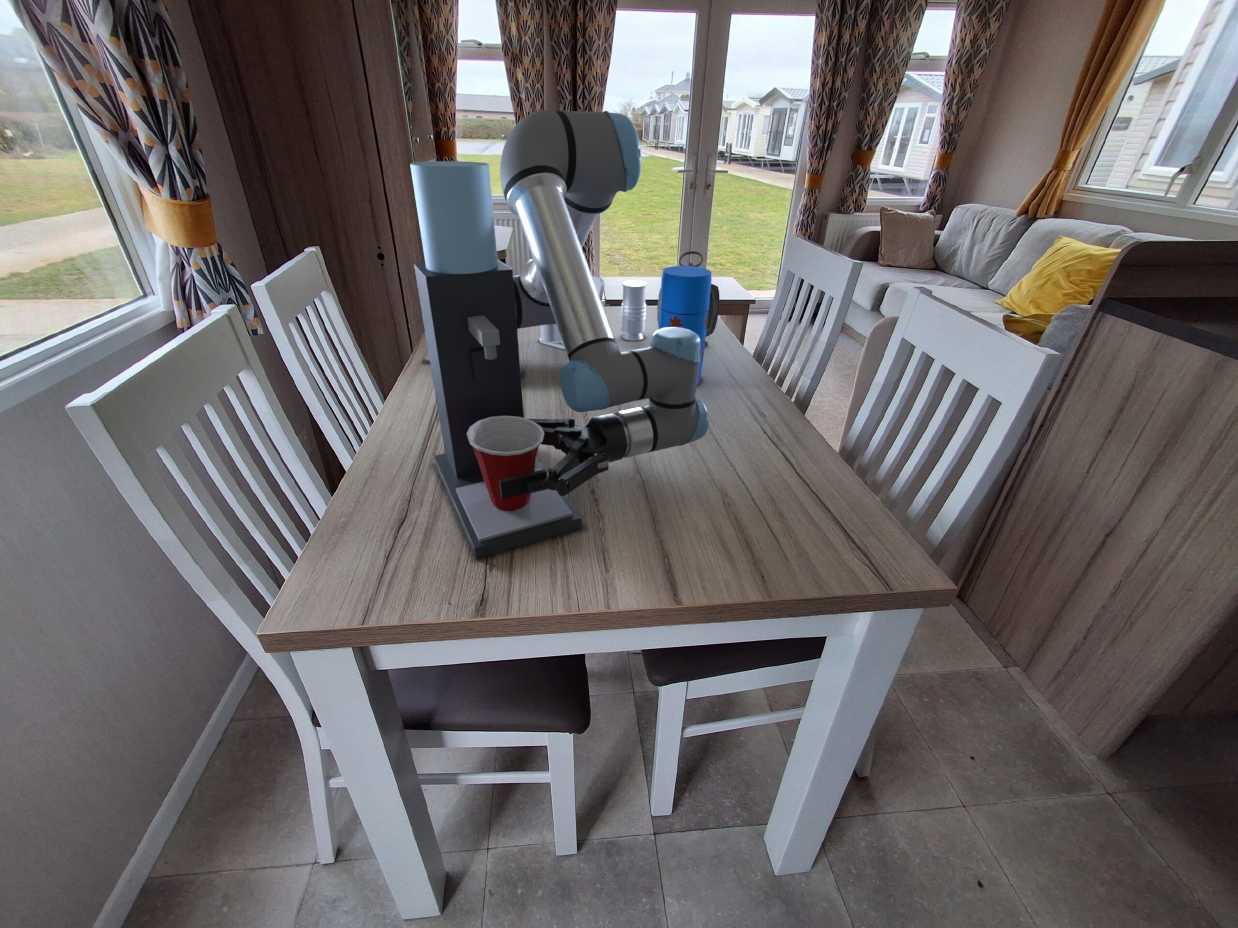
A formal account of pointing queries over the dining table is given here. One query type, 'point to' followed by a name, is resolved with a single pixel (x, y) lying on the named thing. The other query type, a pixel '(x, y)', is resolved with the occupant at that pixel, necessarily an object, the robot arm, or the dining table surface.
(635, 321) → the silver ribbed cylinder
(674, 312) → the thermos
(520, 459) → the plastic cup
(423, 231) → the water dispenser
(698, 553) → the dining table surface
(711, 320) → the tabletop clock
